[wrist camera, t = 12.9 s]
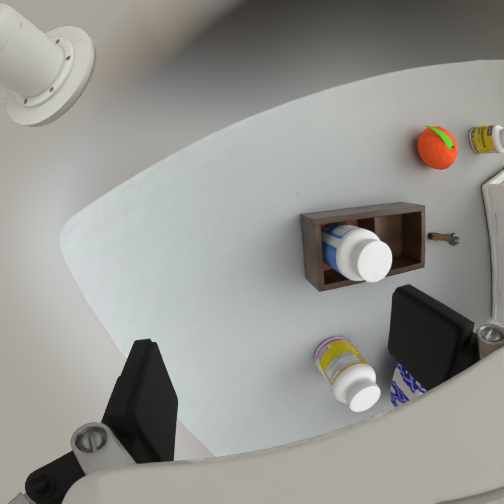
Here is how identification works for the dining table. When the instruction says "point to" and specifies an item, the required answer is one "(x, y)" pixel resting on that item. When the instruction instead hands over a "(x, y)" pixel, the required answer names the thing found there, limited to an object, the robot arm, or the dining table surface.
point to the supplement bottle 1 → (347, 374)
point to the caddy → (377, 221)
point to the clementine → (437, 147)
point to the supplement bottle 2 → (487, 139)
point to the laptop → (496, 240)
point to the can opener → (444, 238)
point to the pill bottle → (355, 252)
